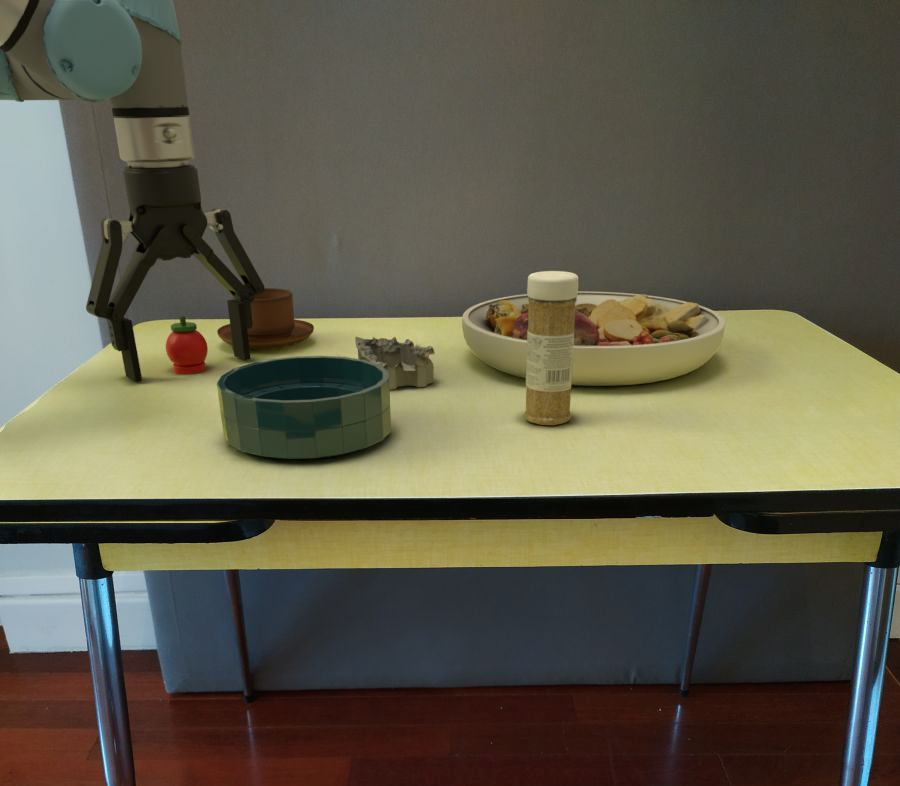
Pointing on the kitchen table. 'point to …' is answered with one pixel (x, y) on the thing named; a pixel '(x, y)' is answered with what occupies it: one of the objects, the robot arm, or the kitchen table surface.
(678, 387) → the kitchen table surface
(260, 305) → the cup and saucer
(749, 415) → the kitchen table surface
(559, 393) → the spice jar
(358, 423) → the dessert bowl
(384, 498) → the kitchen table surface
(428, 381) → the egg carton
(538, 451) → the kitchen table surface
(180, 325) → the tomato shaped ketchup bottle
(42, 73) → the robot arm
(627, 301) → the bowl
